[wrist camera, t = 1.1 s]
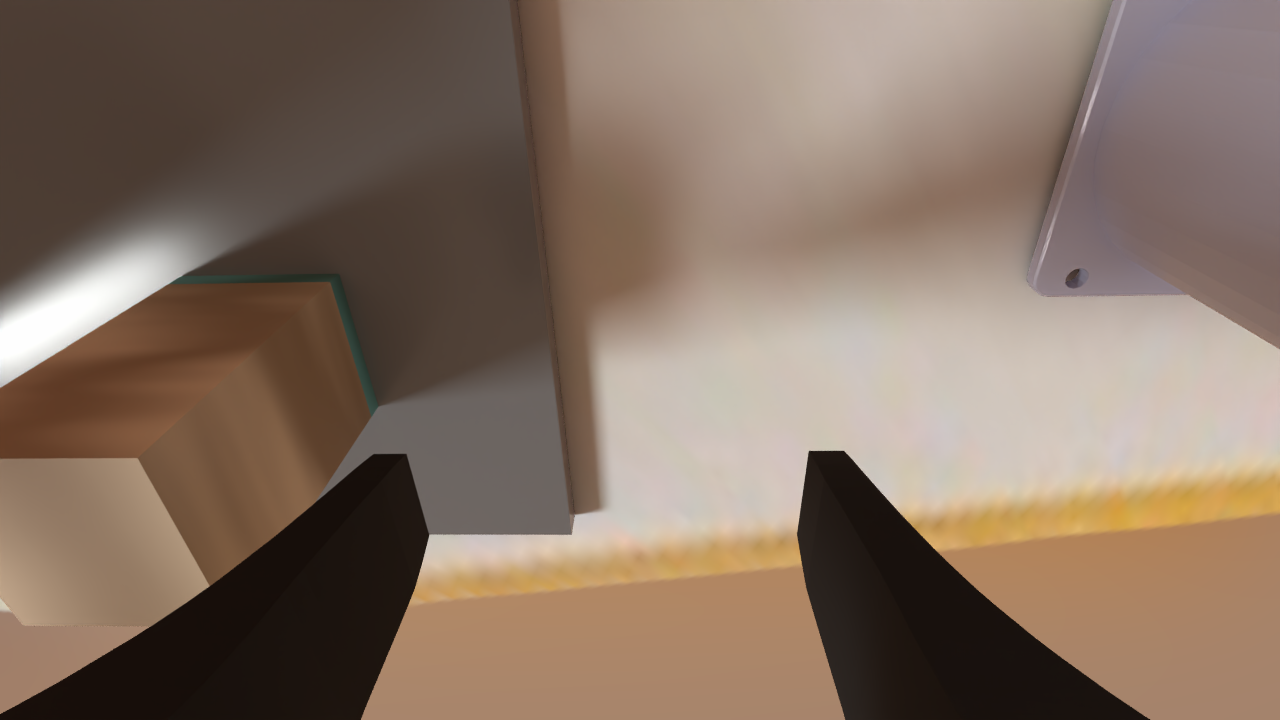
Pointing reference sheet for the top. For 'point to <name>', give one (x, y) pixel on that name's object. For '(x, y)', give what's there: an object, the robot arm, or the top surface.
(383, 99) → the slate board
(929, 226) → the top surface
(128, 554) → the beech block
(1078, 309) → the top surface
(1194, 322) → the top surface
